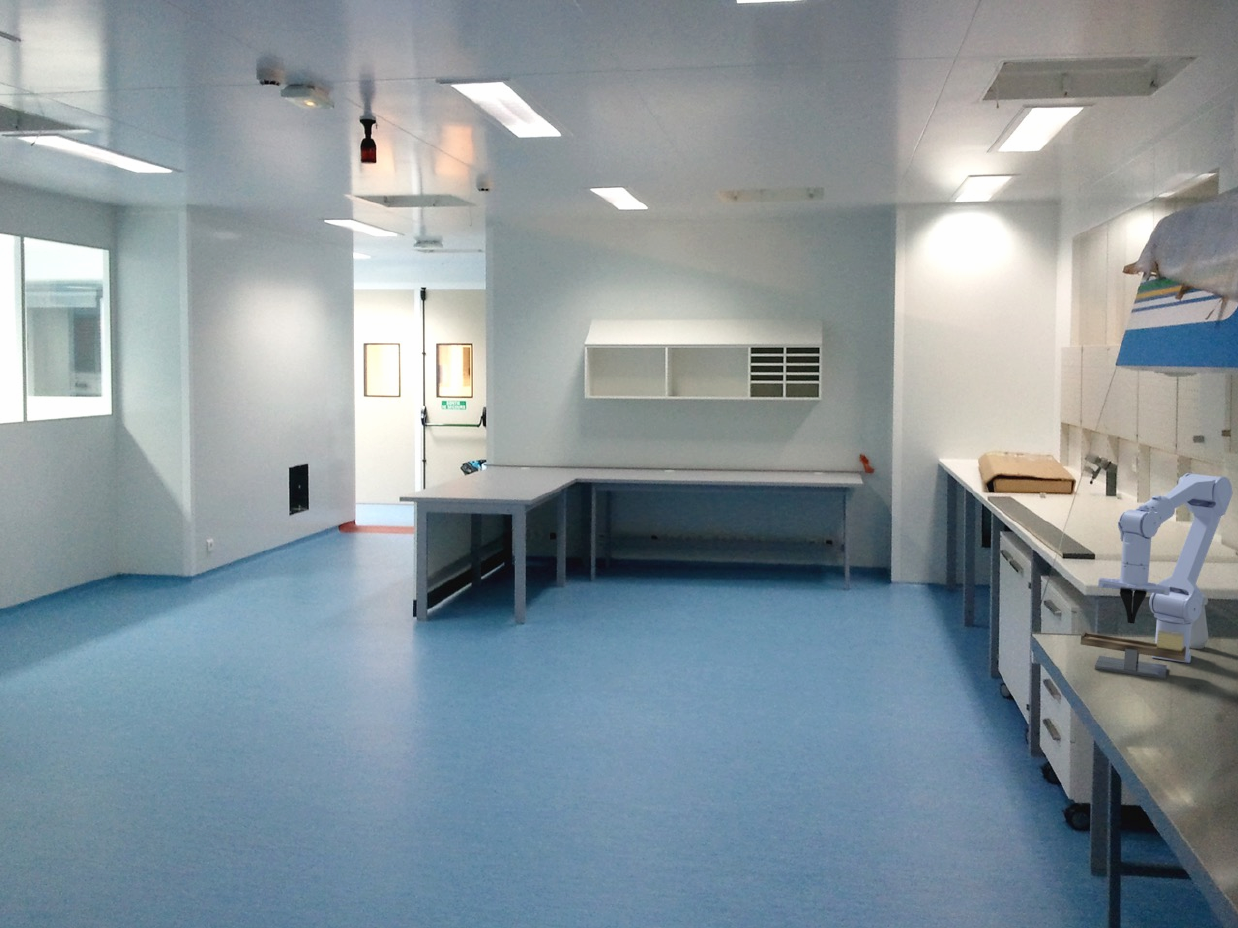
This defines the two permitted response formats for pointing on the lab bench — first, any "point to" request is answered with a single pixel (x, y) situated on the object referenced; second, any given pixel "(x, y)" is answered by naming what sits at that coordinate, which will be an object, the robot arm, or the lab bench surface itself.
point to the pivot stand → (1131, 665)
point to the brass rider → (1170, 641)
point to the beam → (1129, 646)
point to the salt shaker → (1199, 629)
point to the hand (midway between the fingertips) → (1131, 622)
